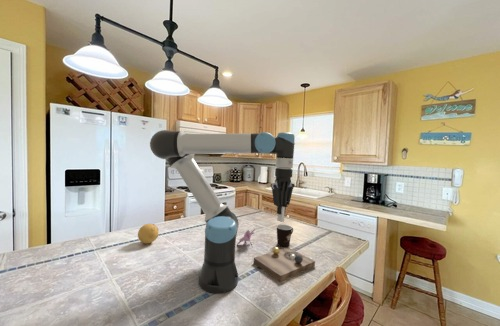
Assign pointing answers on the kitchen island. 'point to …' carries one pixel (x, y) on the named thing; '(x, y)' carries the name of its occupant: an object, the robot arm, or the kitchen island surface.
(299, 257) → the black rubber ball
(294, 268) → the board
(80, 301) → the kitchen island surface
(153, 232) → the stress ball
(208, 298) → the kitchen island surface
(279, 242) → the coffee mug
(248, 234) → the lily
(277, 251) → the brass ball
